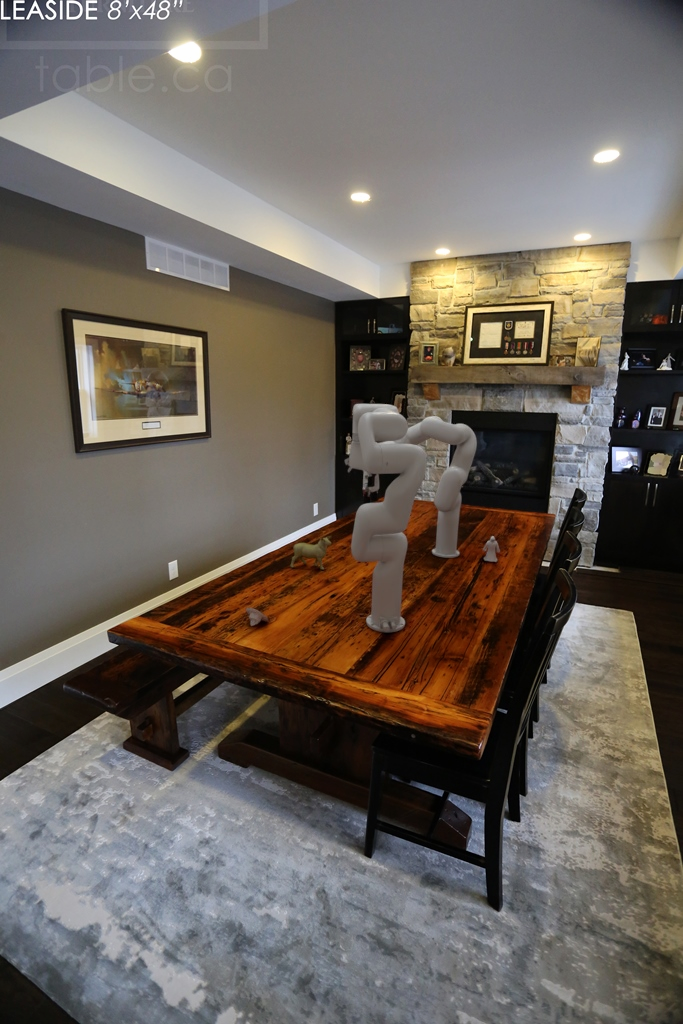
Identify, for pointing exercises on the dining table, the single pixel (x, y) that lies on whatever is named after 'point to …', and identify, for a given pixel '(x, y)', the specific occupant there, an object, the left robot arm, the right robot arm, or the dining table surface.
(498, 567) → the dining table surface
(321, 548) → the toy
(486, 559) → the figurine
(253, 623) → the seashell
